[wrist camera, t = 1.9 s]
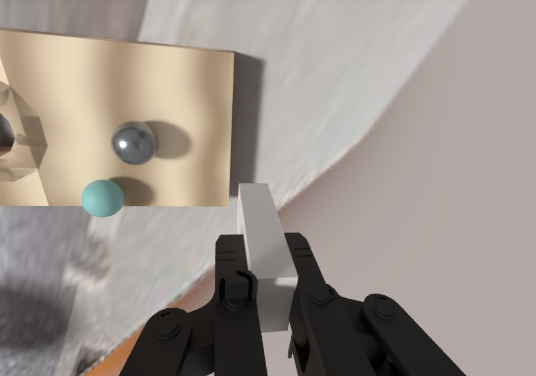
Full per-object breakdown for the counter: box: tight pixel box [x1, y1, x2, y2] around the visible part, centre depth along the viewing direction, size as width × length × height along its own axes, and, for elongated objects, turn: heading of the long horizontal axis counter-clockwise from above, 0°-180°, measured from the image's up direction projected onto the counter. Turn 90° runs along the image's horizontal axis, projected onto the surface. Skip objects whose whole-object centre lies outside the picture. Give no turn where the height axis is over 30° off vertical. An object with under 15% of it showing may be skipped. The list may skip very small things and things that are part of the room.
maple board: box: [0, 28, 234, 206], centre depth 22 cm, size 24×13×2 cm, turn 84°
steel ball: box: [110, 121, 159, 165], centre depth 20 cm, size 3×3×3 cm
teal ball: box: [81, 180, 124, 217], centre depth 22 cm, size 3×3×3 cm
